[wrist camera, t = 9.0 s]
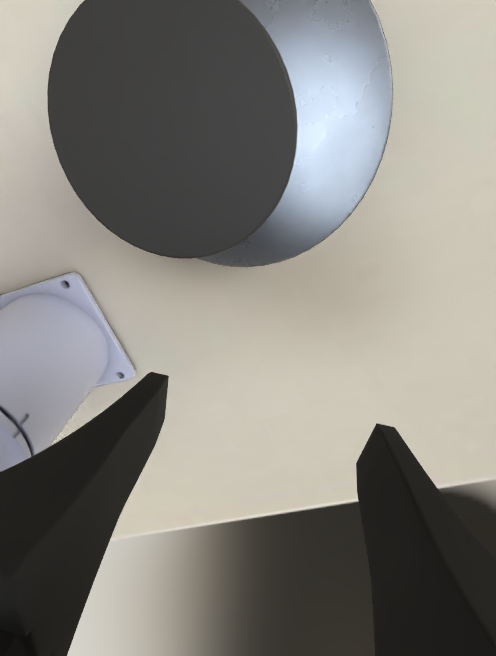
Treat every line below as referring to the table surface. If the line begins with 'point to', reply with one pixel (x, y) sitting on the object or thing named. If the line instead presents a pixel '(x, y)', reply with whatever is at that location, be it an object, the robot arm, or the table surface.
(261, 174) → the spice jar
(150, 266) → the table surface
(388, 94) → the steel stand
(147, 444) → the robot arm
